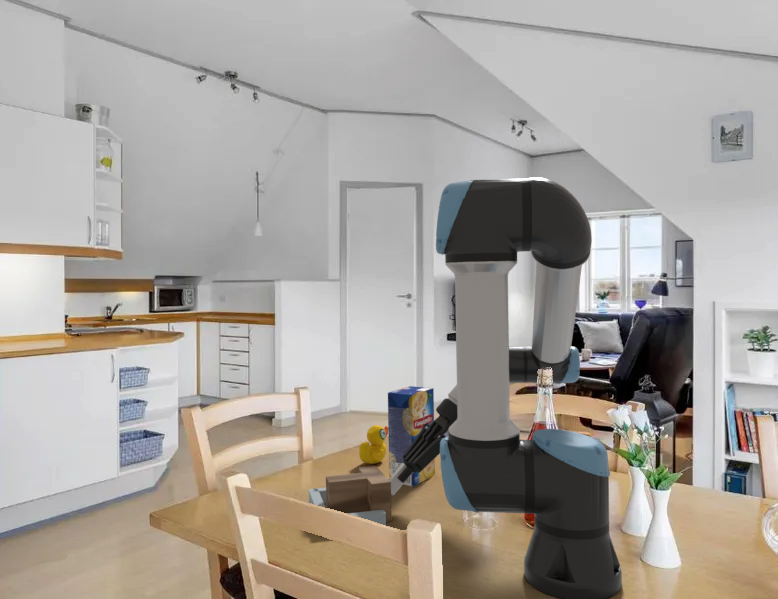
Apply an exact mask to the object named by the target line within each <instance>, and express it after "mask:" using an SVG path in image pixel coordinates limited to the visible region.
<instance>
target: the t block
mask: <svg viewBox="0 0 778 599" xmlns="http://www.w3.org/2000/svg"><path fill="white" fill-rule="evenodd" d="M357 470H358V471H357V472H356V473H350V474H349V473H348V474H337V475H329V476H328V475H327V476H325V487H326V504H325V507H326V508H330V509H334V510H337V511H341V512H344V513H348V514H349V513H358V512H366V511H375V510H384V511H385V513H386V523H387V522H392V518H393V517H392V494H391V482H390V481H389V480H388V479H389V478H387V476H386V475H385V474H384V473H383V472H382V470H381V469H379V468H378V466H377V465H367V466H361V467H359V466H358V468H357Z"/></svg>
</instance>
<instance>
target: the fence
mask: <svg viewBox="0 0 778 599" xmlns="http://www.w3.org/2000/svg"><path fill="white" fill-rule="evenodd" d="M309 503H312V504H314V505H318V506H322V507H326V486H325V487H317V488H309V489H308V504H309ZM349 514H350V515H354V516H358V517H361V518H364V519H368V520H371V521H374V522H377V523H380V524H383V525H386V526H387V522H386V513H385V511H384V510H375V511H366V512H358V513H349Z"/></svg>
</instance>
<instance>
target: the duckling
mask: <svg viewBox="0 0 778 599" xmlns="http://www.w3.org/2000/svg"><path fill="white" fill-rule="evenodd" d="M387 436H389V430H388V426H387V425H385V426H384V427H383V426H381V425H378V424H374V425H372V426H371V427H370V428H368V430H367V433H366V438H367V441H368V442H367V441H363V442H361V443H360V446H359V447H358V448H359V452H358V454H359V458H360V460H361V461H362V462H363V463H364V464H367V465H368V464H369V465H374V464H378V463H380V462H382V461H383V459H384V458H385V456H386V454H387V445H386V444H385V443H384V441H385V440H386V437H387Z"/></svg>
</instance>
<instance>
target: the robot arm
mask: <svg viewBox="0 0 778 599" xmlns="http://www.w3.org/2000/svg"><path fill="white" fill-rule="evenodd" d="M589 221H590V220H589V218H588V216H587V213H586V212H585V210H584V208H583V207H582V205H581V203H580V202H579V201H578V199H577V198H576V197H575V196H574V195H573V194H572V193H571V192H570V191H569V190H568V189H566V188H565V187H564V186H563V185H561V184H559V183H558V182H555V181H553V180H550V179H548V178H544V177H528V178H501V179H500V178H496V179H494V178H493V179H470V180H463V181H456V182H451V183H448V184H447V185H446V186H445V187H444V188H443V190H442V193H441V196H440V201H439V206H438V214H437V220H436V230H435V231H436V232H435V237H436V238H435V250H436V253H437V254H439V255H441V256H443V255H444V256H445V262H444V263H445V266H446V267H447V268H448V269H449V270H450V271H451V273H453V274H454V281H455V283H454V285H455V286H454V288H455V289H454V292H455V294H454V295H455V296H454V297H455V299H454V300H455V301H454V302H455V345H456V346H455V348H456V350H455V352H456V385H455V386H454V387H453V388H452V390H450V391H449V393H448V394H447V395H448V396H447V398H444V399H443V400H442V401H441V402H440V403H439V405H438V406H437V407H436V409H435V410H436V413H437V414H438V415H439V416H438V417H436V418H434V421H433V422H432V423H431V424H430V425H429V424H428V423H425V424H424V426H423V428H422V430H421V432H420V433H419V434H418V436H417V437H416V438H415V440H414V441H413V443H412V444H411V445H410V447H409V448H408V450H407V451H406V452H405V454H404V455H403V458H404V460H403V463H402V464H401V465H400V466H399V468H398V469H397V470H396V471H395V472H394V473H393V475H392V476H391V477H390V478H388V480H389V481H390V482H391V496H393V497H394V496H395V494H396V493H397V492H398V491H399V490H400V489H401V488H402V486H403V484H404V483H405V482H406V480H407V479H408V478H409V477H410V476H411V475H412V473H413V472H414V473H415V472H416V471H417V472H418V473H420V472H421V471H422V470H423V469H424V468H425V467H426V466H427V465H428V464H429V463H430V462H431V461H432V460H433V459H434V458H435V459H436V458H437V457H438V456H439V455H440V456H439V457H440V470H441V478H442V485H443V490H444V494H445V497H446V501H447V502H448V505H449V506H451V507H452V508H453V509H454V510H458V511H459V510H460V511H467V512H469V511H470V512H473V513H476V514H477V513H501V514H503V513H505V514H506V513H507V514H531V515H532V514H533V515H534V528H533V530H532V534H531V537H530V539H529V540H530V541H529V544H528V546H527V550H526V553H525V556H524V561H523V569H524V570H523V573H524V578H525V579H526V581H527V582H528V583H529V584H530V585H531V586H532V587H533V588H535V589H537V590H539V591H540V592H543V593H544V594H547V595H550V596H552V597H556V598H561V599H607V598H610V597H613V596H614V595H616V594H617V593H618V592H620V590H621V589H622V586H623V585H622V584H623V582H622V581H623V580H622V576H623V574H622V567H621V565H620V561H619V558H618V555H617V552H616V549H615V546H614V544H613V541H612V538H611V535H610V476H611V472H610V467H609V466H610V465H609V454H608V451H607V448H606V446H605V445H604V444H603V443H602V442H600V441H599V440H597V439H595V438H594V437H592V436H588V435H586V434H583V433H579V432H574V431H570V430H564V429H555V428H546V429H544V428H542V429H541V428H540V429H536V430H535V431H533V434H532V435H531V438H532V439H520V438H521V437H520V436H521V435H520V432H521V431H520V427H518V426H517V424H516V423H514V422H513V420H511V407H510V402H511V401H510V400H511V398H510V395H511V394H510V384H513V383H514V384H528V383H529V384H530V383H531V384H538V383H537V371H538V369H540V368H542V367H551V368H552V370H553V382H554V383H553V384H555V385H560V384H566V383H567V384H573V383H576V382H577V381H578V380H579V378H580V375H581V374H580V373H581V372H580V368H581V364H580V363H581V361H580V360H581V359H580V353H579V349H578V348H577V347H576V346H572V343H573V342H572V341H573V336H574V328H575V322H576V321H575V320H576V314H577V313H576V311H577V306H578V299H579V298H578V297H579V289H580V283H581V276H582V267H583V265H585V263H587V261H588V260H589V258H590V255H591V249H592V242H593V237H592V229H591V225H590V222H589ZM518 252H519V253H520V252H530V253H531V255H532V258H533V260H534V261H535V262H536V265H535V267H536V268H535V281H534V282H535V284H534V299H533V300H534V303H533V321H532V340H531V341H532V342H531V345H529V346H522V345H521V346H518V345H517V346H510V344H509V343H510V339H509V334H510V333H509V331H510V330H509V329H510V328H509V327H510V326H509V323H510V322H509V273H510V271H512V269H514V267H515V266H517V264H518ZM551 368H550V369H551Z"/></svg>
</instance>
